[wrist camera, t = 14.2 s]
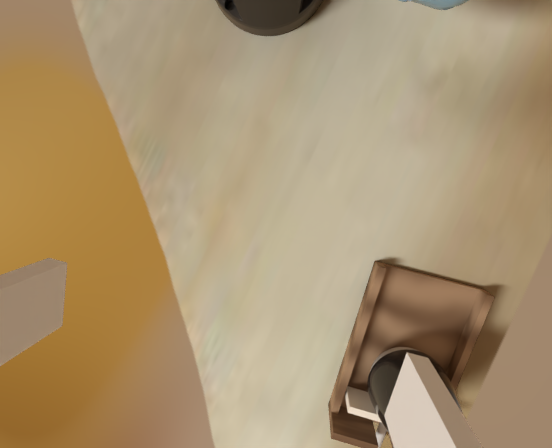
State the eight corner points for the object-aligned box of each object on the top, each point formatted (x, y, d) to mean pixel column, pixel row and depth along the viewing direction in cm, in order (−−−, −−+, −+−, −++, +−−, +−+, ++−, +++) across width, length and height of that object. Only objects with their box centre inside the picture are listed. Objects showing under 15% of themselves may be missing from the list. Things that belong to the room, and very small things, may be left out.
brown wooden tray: (374, 260, 42) (385, 276, 36) (483, 289, 41) (512, 309, 35) (328, 404, 47) (331, 438, 41) (424, 432, 46) (441, 471, 40)
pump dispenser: (411, 321, 42) (469, 397, 27) (448, 381, 43) (526, 487, 28) (347, 355, 44) (370, 444, 29) (385, 412, 45) (426, 529, 30)
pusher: (346, 385, 45) (349, 406, 41) (429, 409, 44) (441, 433, 40) (331, 429, 46) (333, 453, 42) (411, 453, 46) (421, 480, 42)
